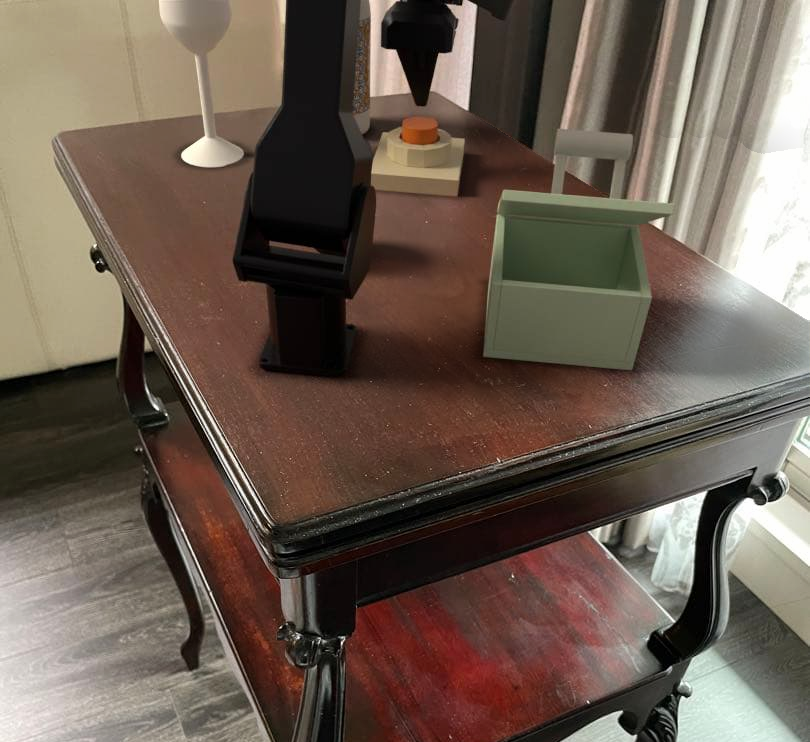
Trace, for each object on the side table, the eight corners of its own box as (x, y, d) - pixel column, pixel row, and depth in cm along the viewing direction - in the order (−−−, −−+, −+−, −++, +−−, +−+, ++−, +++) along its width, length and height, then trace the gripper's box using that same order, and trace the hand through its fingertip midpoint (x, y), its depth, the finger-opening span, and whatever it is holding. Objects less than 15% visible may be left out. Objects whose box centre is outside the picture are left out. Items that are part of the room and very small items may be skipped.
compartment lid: (673, 214, 56) (687, 134, 54) (502, 200, 56) (511, 120, 55) (638, 225, 67) (649, 158, 66) (497, 213, 68) (504, 147, 66)
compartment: (631, 370, 64) (652, 297, 60) (483, 356, 65) (492, 283, 60) (621, 295, 72) (638, 225, 67) (488, 283, 72) (496, 213, 68)
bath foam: (376, 138, 94) (378, -80, 80) (315, 142, 93) (306, -79, 78) (362, 116, 99) (362, -94, 84) (304, 119, 97) (294, -94, 83)
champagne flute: (240, 168, 87) (211, -123, 70) (175, 166, 87) (129, -127, 70) (248, 143, 92) (223, -136, 75) (187, 141, 92) (147, -139, 74)
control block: (457, 197, 84) (460, 161, 82) (368, 189, 85) (368, 154, 82) (463, 154, 92) (466, 121, 89) (382, 148, 92) (382, 114, 90)
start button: (435, 148, 85) (436, 130, 84) (400, 146, 85) (400, 128, 84) (438, 135, 87) (439, 117, 86) (404, 132, 87) (404, 115, 86)
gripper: (522, -59, 66) (499, 147, 77) (524, -101, 79) (504, 80, 90) (381, -69, 66) (378, 137, 77) (406, -109, 79) (400, 72, 90)
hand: (421, 105), depth 84 cm, fingers closed
